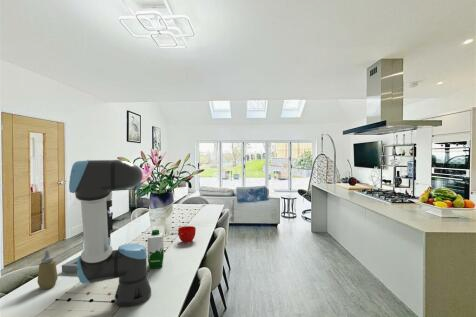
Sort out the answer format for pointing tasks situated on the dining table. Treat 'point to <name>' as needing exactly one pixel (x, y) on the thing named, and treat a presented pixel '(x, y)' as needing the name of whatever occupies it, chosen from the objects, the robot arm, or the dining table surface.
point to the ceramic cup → (186, 233)
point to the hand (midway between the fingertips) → (105, 242)
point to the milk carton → (155, 249)
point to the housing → (70, 266)
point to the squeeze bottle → (47, 272)
